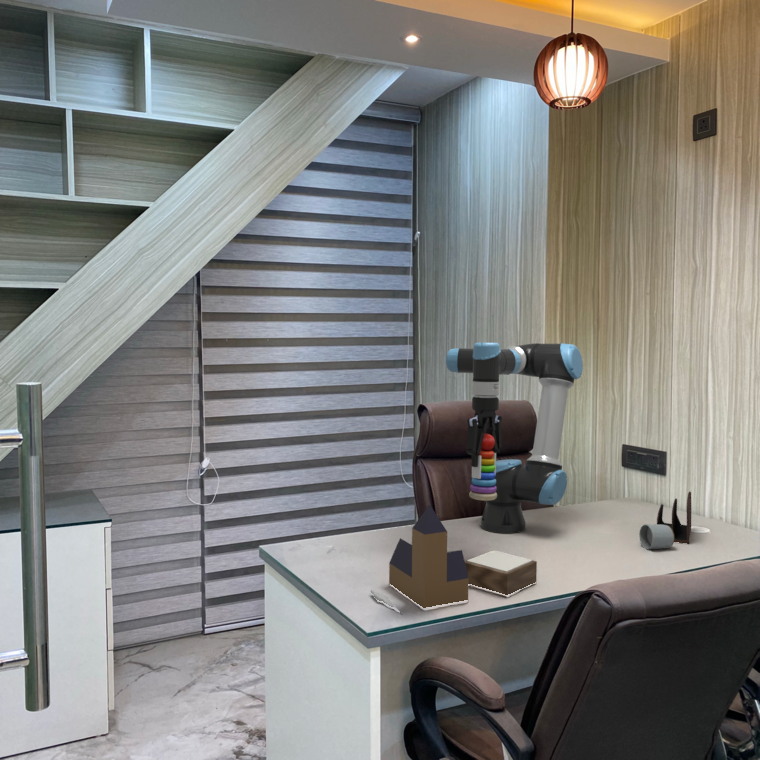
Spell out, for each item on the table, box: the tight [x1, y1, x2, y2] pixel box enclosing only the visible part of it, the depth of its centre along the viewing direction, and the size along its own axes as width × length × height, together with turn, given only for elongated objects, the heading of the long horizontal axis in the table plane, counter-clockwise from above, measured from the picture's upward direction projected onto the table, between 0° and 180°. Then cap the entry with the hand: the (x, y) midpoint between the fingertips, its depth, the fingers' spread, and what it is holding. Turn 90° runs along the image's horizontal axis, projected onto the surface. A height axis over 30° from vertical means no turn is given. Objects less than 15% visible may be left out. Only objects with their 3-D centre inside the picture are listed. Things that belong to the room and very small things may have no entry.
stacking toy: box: [468, 432, 497, 502], centre depth 204 cm, size 8×8×19 cm
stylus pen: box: [370, 589, 395, 607], centre depth 175 cm, size 15×3×2 cm, turn 30°
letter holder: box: [656, 490, 692, 545], centre depth 236 cm, size 10×20×14 cm, turn 154°
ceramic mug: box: [638, 523, 674, 550], centre depth 223 cm, size 11×8×8 cm
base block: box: [464, 550, 538, 595], centre depth 189 cm, size 14×14×6 cm
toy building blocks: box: [388, 504, 469, 608], centre depth 181 cm, size 12×19×25 cm
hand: (483, 476), depth 205 cm, fingers closed on stacking toy, 6 cm apart
